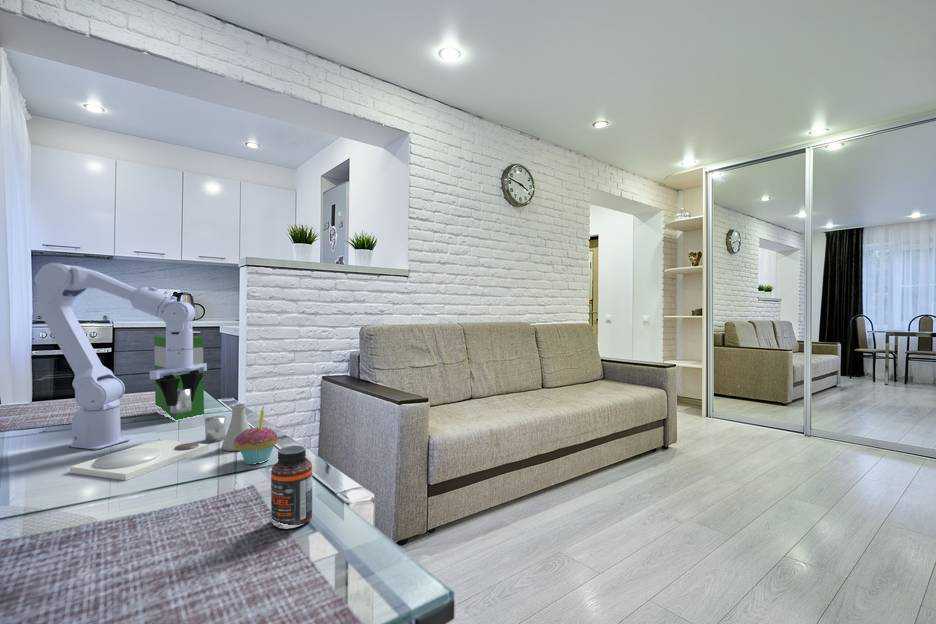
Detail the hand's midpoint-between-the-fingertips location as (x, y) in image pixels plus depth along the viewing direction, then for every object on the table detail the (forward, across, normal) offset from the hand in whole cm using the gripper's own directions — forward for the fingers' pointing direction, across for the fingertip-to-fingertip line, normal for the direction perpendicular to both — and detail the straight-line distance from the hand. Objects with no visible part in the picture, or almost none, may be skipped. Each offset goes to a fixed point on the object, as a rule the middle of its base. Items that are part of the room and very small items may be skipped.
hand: (180, 403), depth 113 cm
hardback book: (+9, +20, +22) cm, 31 cm away
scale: (+9, -15, -6) cm, 18 cm away
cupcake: (+9, -9, -30) cm, 33 cm away
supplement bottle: (+9, -30, -55) cm, 63 cm away
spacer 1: (+2, 0, 0) cm, 2 cm away
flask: (+9, -2, -19) cm, 21 cm away
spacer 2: (+9, +1, -9) cm, 13 cm away
